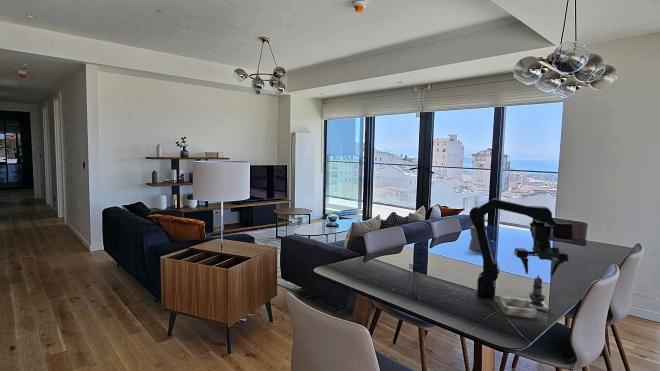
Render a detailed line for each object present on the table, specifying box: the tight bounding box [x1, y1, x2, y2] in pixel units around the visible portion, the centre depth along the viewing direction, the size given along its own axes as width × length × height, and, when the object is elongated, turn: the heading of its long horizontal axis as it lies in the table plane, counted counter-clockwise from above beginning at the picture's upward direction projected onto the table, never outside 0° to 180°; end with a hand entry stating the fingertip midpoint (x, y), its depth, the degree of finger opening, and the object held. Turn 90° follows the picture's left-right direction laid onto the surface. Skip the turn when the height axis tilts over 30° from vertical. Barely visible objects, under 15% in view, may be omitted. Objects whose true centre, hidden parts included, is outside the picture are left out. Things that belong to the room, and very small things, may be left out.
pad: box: [528, 299, 550, 310], centre depth 154 cm, size 7×7×1 cm
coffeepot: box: [468, 225, 488, 252], centre depth 247 cm, size 15×9×18 cm, turn 118°
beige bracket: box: [497, 296, 538, 319], centre depth 148 cm, size 11×11×3 cm
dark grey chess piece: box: [528, 275, 546, 306], centre depth 154 cm, size 6×6×12 cm
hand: (539, 275), depth 153 cm, fingers open, 9 cm apart
